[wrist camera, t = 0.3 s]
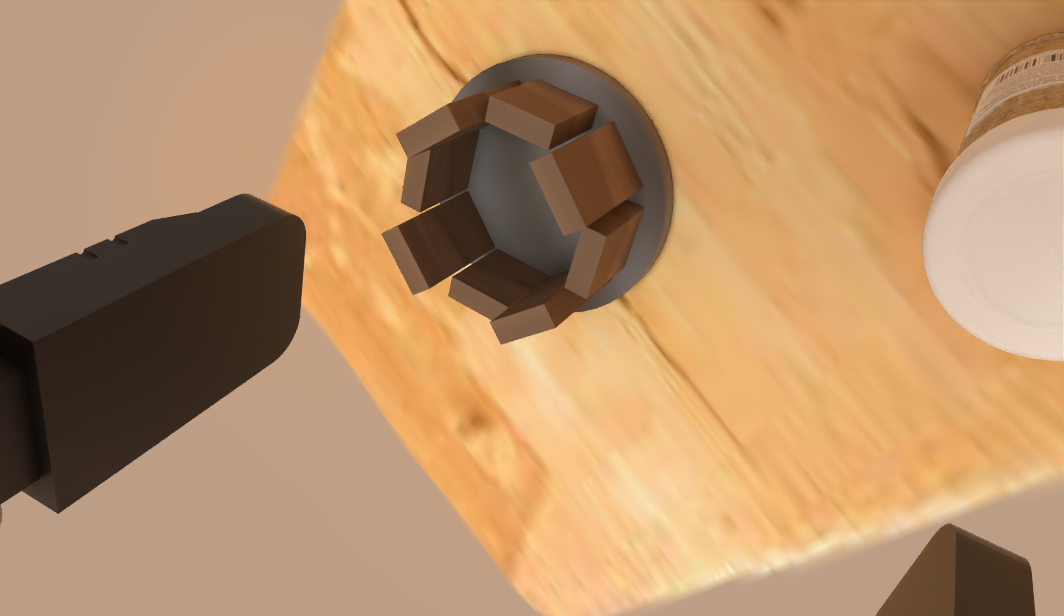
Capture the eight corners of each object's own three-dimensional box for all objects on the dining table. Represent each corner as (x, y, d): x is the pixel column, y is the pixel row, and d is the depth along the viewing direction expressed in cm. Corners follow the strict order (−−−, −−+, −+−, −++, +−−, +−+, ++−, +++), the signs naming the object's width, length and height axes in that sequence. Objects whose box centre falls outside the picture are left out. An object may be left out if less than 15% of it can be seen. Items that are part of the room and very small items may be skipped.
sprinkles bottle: (963, 169, 27) (899, 341, 17) (991, 23, 25) (940, 117, 15) (1129, 186, 25) (1175, 395, 15) (1175, 28, 23) (1266, 141, 13)
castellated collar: (601, 4, 31) (520, 24, 27) (716, 264, 33) (659, 325, 28) (409, 118, 38) (318, 149, 33) (513, 328, 40) (441, 386, 35)
